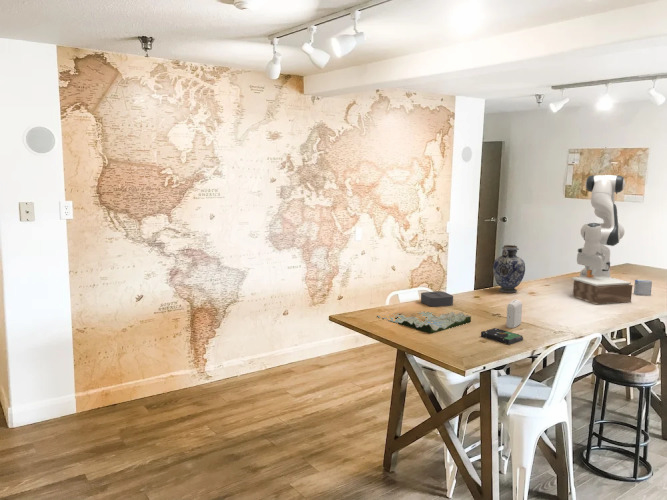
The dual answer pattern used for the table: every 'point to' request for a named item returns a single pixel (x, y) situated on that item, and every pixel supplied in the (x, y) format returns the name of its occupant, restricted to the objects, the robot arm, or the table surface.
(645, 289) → the medicine box
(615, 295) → the wooden box
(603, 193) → the robot arm
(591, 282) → the box lid
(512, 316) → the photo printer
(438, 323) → the topographic map model
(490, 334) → the disk drive
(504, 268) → the decorative vase
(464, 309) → the table surface
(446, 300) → the streaming box
